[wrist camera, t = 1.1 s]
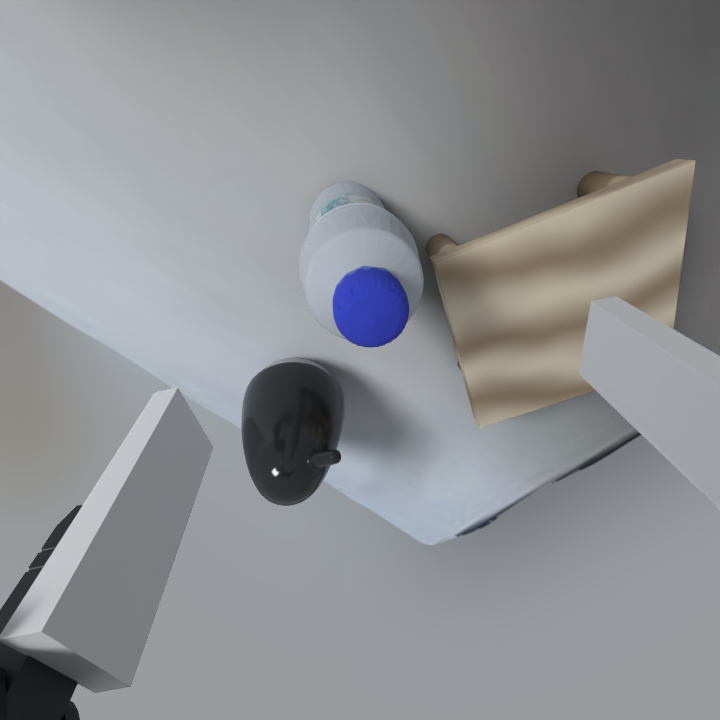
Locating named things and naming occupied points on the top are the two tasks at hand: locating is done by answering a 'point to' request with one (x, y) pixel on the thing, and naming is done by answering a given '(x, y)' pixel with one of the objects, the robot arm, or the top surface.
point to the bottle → (359, 266)
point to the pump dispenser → (291, 429)
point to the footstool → (560, 285)
